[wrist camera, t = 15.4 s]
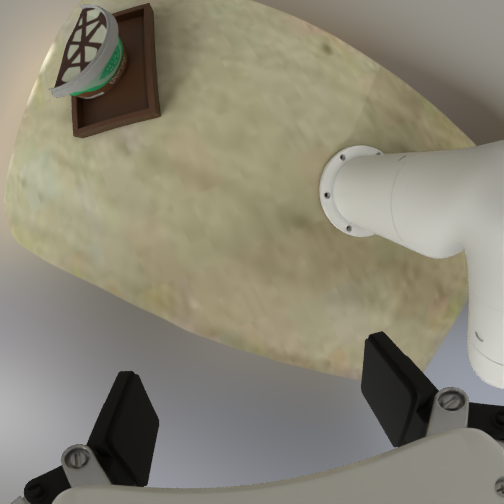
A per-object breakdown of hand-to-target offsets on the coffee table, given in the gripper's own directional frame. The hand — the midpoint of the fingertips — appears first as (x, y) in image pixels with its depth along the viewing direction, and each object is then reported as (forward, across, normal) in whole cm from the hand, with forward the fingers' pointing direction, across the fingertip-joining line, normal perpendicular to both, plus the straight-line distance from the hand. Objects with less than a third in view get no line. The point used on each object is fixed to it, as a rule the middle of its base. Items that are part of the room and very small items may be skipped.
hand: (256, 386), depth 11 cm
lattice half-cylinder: (+28, +13, -26) cm, 40 cm away
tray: (+28, +13, -26) cm, 41 cm away
